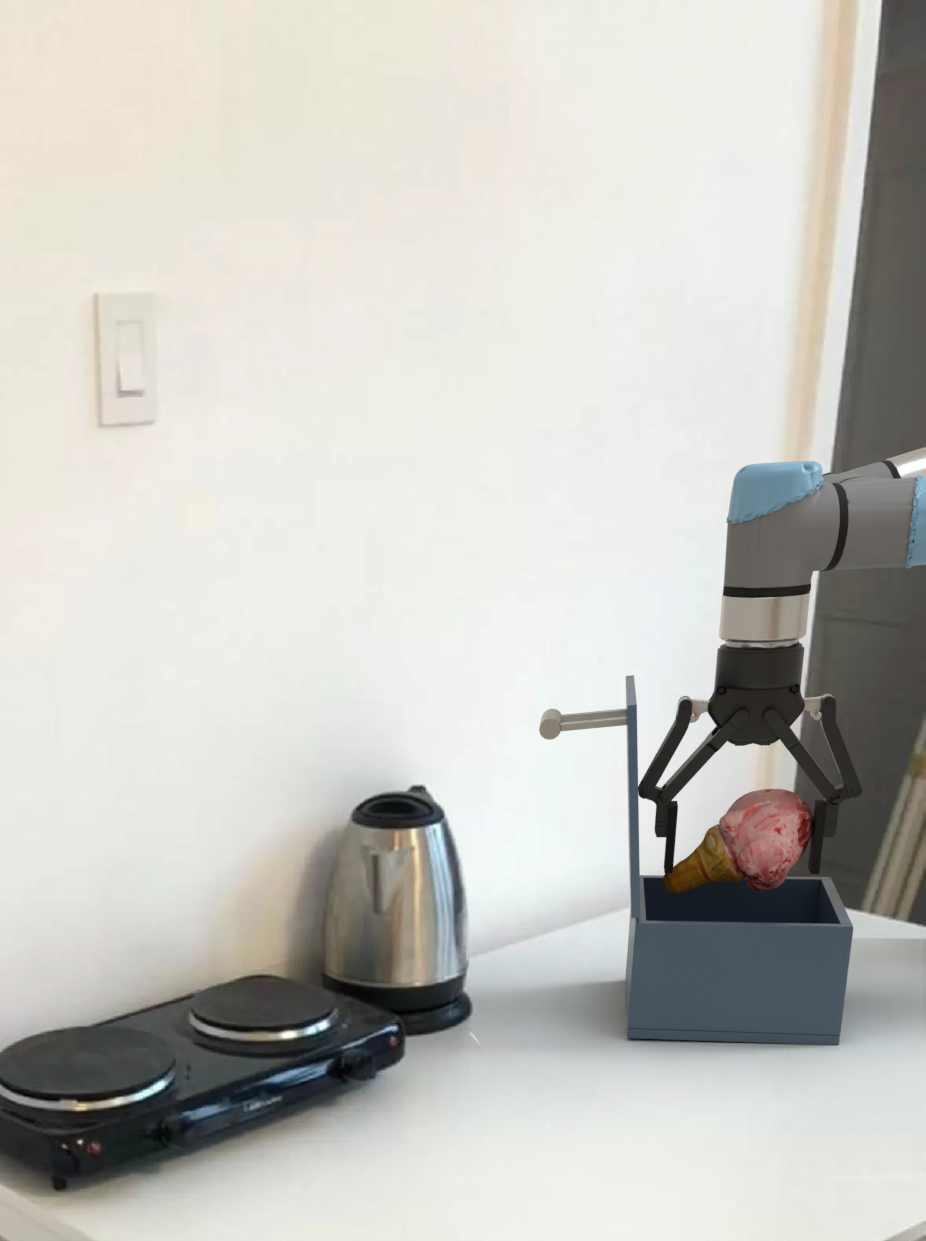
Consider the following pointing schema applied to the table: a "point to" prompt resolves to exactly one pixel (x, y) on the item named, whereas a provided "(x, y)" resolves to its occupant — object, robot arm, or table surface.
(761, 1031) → the box
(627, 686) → the freezer lid
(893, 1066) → the table surface
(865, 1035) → the table surface
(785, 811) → the ice cream
